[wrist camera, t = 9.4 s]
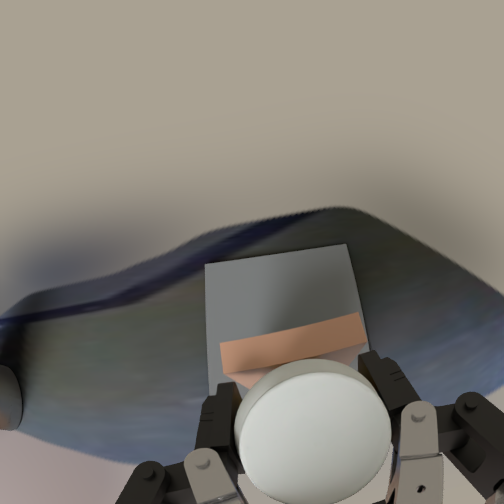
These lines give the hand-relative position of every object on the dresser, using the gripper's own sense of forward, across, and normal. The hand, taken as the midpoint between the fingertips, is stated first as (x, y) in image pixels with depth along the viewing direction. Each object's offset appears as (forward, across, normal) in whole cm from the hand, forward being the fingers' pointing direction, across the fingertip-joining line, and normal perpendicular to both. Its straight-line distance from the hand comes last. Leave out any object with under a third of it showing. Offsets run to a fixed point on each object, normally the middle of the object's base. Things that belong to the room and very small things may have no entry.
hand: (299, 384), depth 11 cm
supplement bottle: (+2, 0, +4) cm, 5 cm away
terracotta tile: (+8, 0, +6) cm, 10 cm away
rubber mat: (+11, 0, +4) cm, 12 cm away
